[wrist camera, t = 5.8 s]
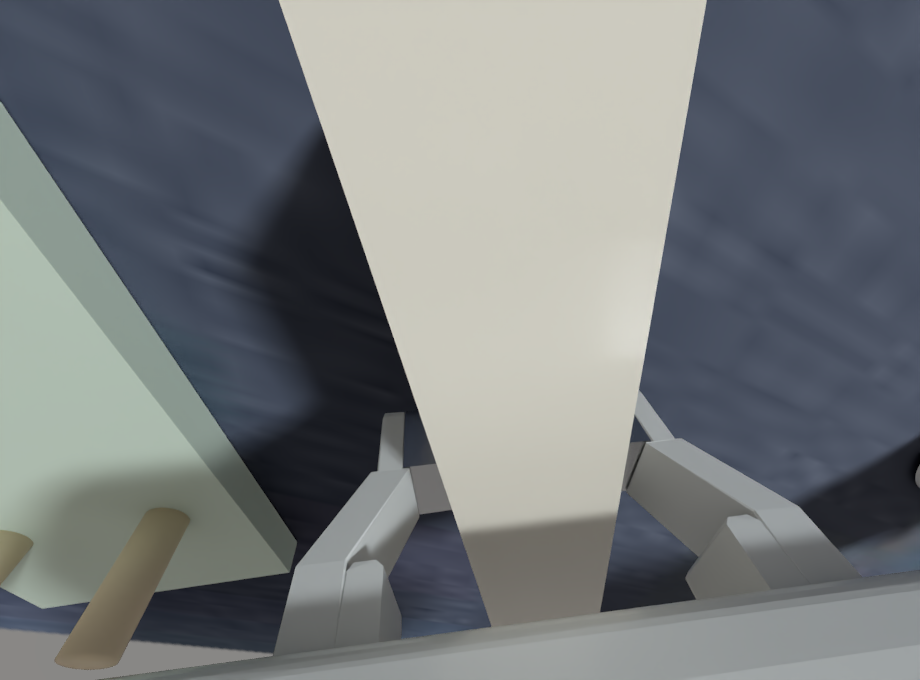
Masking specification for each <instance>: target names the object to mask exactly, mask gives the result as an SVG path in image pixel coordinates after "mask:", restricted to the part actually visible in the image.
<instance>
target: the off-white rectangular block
mask: <svg viewBox="0 0 920 680" xmlns="http://www.w3.org/2000/svg"><path fill="white" fill-rule="evenodd" d="M706 1H707V0H279V2H280V5H281V8H282V11H283V14H284V16H285V19H286V22H287V25H288V28H289V31H290V34H291V37H292V40H293V43H294V46H295V49H296V52H297V55H298V58H299V61H300V64H301V66H302V69H303V72H304V75H305V78H306V81H307V84H308V87H309V90H310V93H311V96H312V99H313V102H314V105H315V108H316V111H317V114H318V117H319V119H320V122H321V125H322V128H323V131H324V134H325V137H326V140H327V143H328V146H329V149H330V152H331V155H332V158H333V161H334V164H335V167H336V169H337V172H338V175H339V178H340V181H341V184H342V187H343V190H344V193H345V196H346V199H347V202H348V205H349V208H350V211H351V214H352V217H353V219H354V222H355V225H356V228H357V231H358V234H359V237H360V240H361V243H362V246H363V249H364V252H365V255H366V258H367V261H368V264H369V267H370V270H371V272H372V275H373V278H374V281H375V284H376V287H377V290H378V293H379V296H380V299H381V302H382V305H383V308H384V311H385V314H386V317H387V320H388V322H389V325H390V328H391V331H392V334H393V337H394V340H395V343H396V346H397V349H398V352H399V355H400V358H401V361H402V364H403V367H404V370H405V372H406V375H407V378H408V381H409V384H410V387H411V390H412V393H413V396H414V399H415V402H416V405H417V408H418V411H419V414H420V417H421V420H422V423H423V425H424V428H425V431H426V434H427V437H428V440H429V443H430V446H431V449H432V452H433V455H434V458H435V461H436V464H437V467H438V470H439V473H440V475H441V478H442V481H443V484H444V487H445V490H446V493H447V496H448V499H449V502H450V505H451V508H452V511H453V514H454V517H455V520H456V523H457V525H458V528H459V531H460V534H461V537H462V540H463V543H464V546H465V549H466V552H467V555H468V558H469V561H470V564H471V567H472V570H473V573H474V576H475V578H476V581H477V584H478V587H479V590H480V593H481V596H482V599H483V602H484V605H485V608H486V611H487V614H488V617H489V620H490V623H491V626H492V627H496V626H503V625H511V624H518V623H526V622H533V621H541V620H548V619H556V618H563V617H571V616H578V615H586V614H593V613H600V609H601V603H602V598H603V592H604V586H605V581H606V575H607V569H608V563H609V558H610V552H611V546H612V540H613V535H614V529H615V523H616V517H617V512H618V506H619V500H620V494H621V489H622V483H623V477H624V471H625V466H626V460H627V454H628V448H629V443H630V437H631V431H632V425H633V420H634V414H635V408H636V403H637V397H638V391H639V385H640V380H641V374H642V368H643V362H644V357H645V351H646V345H647V339H648V334H649V328H650V322H651V316H652V311H653V305H654V299H655V293H656V288H657V282H658V276H659V270H660V265H661V259H662V253H663V248H664V242H665V236H666V230H667V225H668V219H669V213H670V207H671V202H672V196H673V190H674V184H675V179H676V173H677V167H678V161H679V156H680V150H681V144H682V138H683V133H684V127H685V121H686V115H687V110H688V104H689V98H690V92H691V87H692V81H693V75H694V70H695V64H696V58H697V52H698V47H699V41H700V35H701V29H702V24H703V18H704V12H705V6H706Z"/></svg>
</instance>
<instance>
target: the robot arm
mask: <svg viewBox="0 0 920 680" xmlns="http://www.w3.org/2000/svg"><path fill="white" fill-rule="evenodd" d="M915 481H916V484H917V486H918V487H919V488H920V465H919V467H918V469H917V472H916V476H915ZM626 490H627V492H626V493H628V494H629V495H630V496H631V497H632V498H633V499H634V500H635V501H637V502H638V503H639V504H640V505H641V506H642V507H643V508H644V509H646V510H647V511H648V512H649V513H650V514H651V515H652V516H653V517H654V518H656V519H657V520H658V521H659V522H660V523H661V524H662V525H663V526H665V527H666V528H667V529H668V530H669V531H670V532H671V533H672V534H673V535H675V536H676V537H677V538H678V539H679V540H680V541H681V542H682V543H684V544H685V545H686V546H687V547H688V548H689V549H690V550H691V551H693V552H694V553H695V554H696V555H697V556H698V559H697V560H696V561H695V563H694V564H693V565H692V567H691V568H690V569H689V571H688V573H687V575H686V578H685V579H686V581H687V583H688V585H689V587H690V589H691V591H692V592H693V594H694V596H695V598H696V600H690V601H683V602H675V603H668V604H661V605H653V606H646V607H638V608H631V609H623V610H616V611H608V612H601V613H593V614H586V615H578V616H571V617H563V618H556V619H548V620H541V621H533V622H526V623H518V624H511V625H503V626H496V627H488V628H481V629H473V630H466V631H458V632H451V633H443V634H436V635H428V636H421V637H413V638H406V639H401V619H402V616H401V613H400V610H399V608H398V605H397V602H396V599H395V597H394V594H393V591H392V588H391V586H390V583H389V580H388V576H389V574H390V573H391V571H392V569H393V567H394V565H395V563H396V561H397V559H398V557H399V555H400V553H401V551H402V549H403V548H404V546H405V544H406V542H407V540H408V538H409V536H410V534H411V532H412V530H413V528H414V526H415V524H416V523H417V521H418V519H419V514H426V513H433V512H440V511H447V510H452V508H451V505H450V502H449V499H448V496H447V493H446V490H445V487H444V484H443V481H442V478H441V475H440V473H439V470H438V467H437V464H436V461H435V458H434V455H433V452H432V449H431V446H430V443H429V440H428V437H427V434H426V431H425V428H424V425H423V423H422V420H421V417H420V414H419V411H418V410H415V411H406V412H394V413H385V414H384V417H383V421H382V431H381V440H380V450H379V459H378V469H377V471H375V472H371V473H370V474H369V475H368V476H367V478H366V479H365V480H364V481H363V483H362V484H361V485H360V486H359V488H358V489H357V490H356V491H355V493H354V494H353V495H352V496H351V498H350V499H349V500H348V502H347V503H346V504H345V505H344V507H343V508H342V509H341V510H340V512H339V513H338V514H337V515H336V517H335V518H334V519H333V520H332V522H331V523H330V524H329V526H328V527H327V528H326V529H325V531H324V532H323V533H322V534H321V536H320V537H319V538H318V539H317V541H316V542H315V543H314V544H313V546H312V547H311V548H310V549H309V551H308V552H307V553H306V555H305V556H304V557H303V558H302V560H301V561H300V562H299V563H298V565H297V566H296V568H295V571H294V575H293V579H292V583H291V587H290V591H289V595H288V599H287V603H286V607H285V611H284V614H283V618H282V622H281V626H280V630H279V634H278V638H277V642H276V646H275V650H274V654H273V656H271V657H264V658H256V659H249V660H241V661H234V662H226V663H219V664H212V665H205V666H197V667H189V668H182V669H174V670H166V671H159V672H152V673H145V674H137V675H130V676H122V677H115V678H107V679H99V680H920V570H915V571H908V572H900V573H893V574H885V575H878V576H870V577H862V576H861V575H860V574H859V573H858V572H857V571H856V569H855V568H854V567H853V566H852V565H851V564H850V563H849V562H848V561H847V559H846V558H845V557H844V556H843V555H842V554H841V553H840V552H839V551H838V549H837V548H836V547H835V546H834V545H833V544H832V543H831V542H830V541H829V539H828V538H827V537H826V536H825V535H824V534H823V533H822V532H821V530H820V529H819V528H818V527H817V526H816V525H815V524H814V523H813V522H812V520H811V519H810V518H809V517H808V516H807V515H806V514H805V513H804V512H803V510H802V509H801V508H800V507H799V506H797V505H795V504H794V503H792V502H790V501H788V500H787V499H785V498H783V497H782V496H780V495H778V494H776V493H775V492H773V491H771V490H769V489H768V488H766V487H764V486H763V485H761V484H759V483H757V482H756V481H754V480H752V479H750V478H749V477H747V476H745V475H744V474H742V473H740V472H738V471H737V470H735V469H733V468H732V467H730V466H728V465H726V464H725V463H723V462H721V461H719V460H718V459H716V458H714V457H713V456H711V455H709V454H707V453H706V452H704V451H702V450H700V449H699V448H697V447H695V446H694V445H692V444H690V443H688V442H687V441H685V440H683V439H682V438H680V439H675V438H674V437H673V435H672V434H671V433H670V431H669V430H668V429H667V427H666V426H665V424H664V423H663V422H662V420H661V419H660V418H659V416H658V415H657V414H656V412H655V411H654V409H653V408H652V407H651V405H650V404H649V403H648V401H647V400H646V399H645V397H644V396H643V394H642V393H641V392H640V391H638V397H637V403H636V408H635V414H634V420H633V425H632V431H631V437H630V443H629V448H628V454H627V460H626V466H625V471H624V477H623V483H622V489H621V491H626Z"/></svg>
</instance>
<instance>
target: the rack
mask: <svg viewBox="0 0 920 680" xmlns="http://www.w3.org/2000/svg"><path fill="white" fill-rule="evenodd" d="M296 545H297V541H296V540H295V538H294V537H293V535H292V534H291V532H290V531H289V529H288V528H287V526H286V525H285V523H284V522H283V520H282V519H281V517H280V516H279V514H278V513H277V511H276V510H275V508H274V507H273V505H272V504H271V502H270V501H269V499H268V498H267V496H266V495H265V493H264V492H263V491H262V489H261V488H260V486H259V485H258V483H257V482H256V480H255V479H254V477H253V476H252V474H251V473H250V471H249V470H248V468H247V467H246V465H245V464H244V462H243V461H242V459H241V458H240V456H239V455H238V453H237V452H236V450H235V449H234V447H233V446H232V444H231V443H230V442H229V440H228V439H227V437H226V436H225V434H224V433H223V431H222V430H221V428H220V427H219V425H218V424H217V422H216V421H215V419H214V418H213V416H212V415H211V413H210V412H209V410H208V409H207V407H206V406H205V404H204V403H203V401H202V400H201V398H200V397H199V395H198V394H197V393H196V391H195V390H194V388H193V387H192V385H191V384H190V382H189V381H188V379H187V378H186V376H185V375H184V373H183V372H182V370H181V369H180V367H179V366H178V364H177V363H176V361H175V360H174V358H173V357H172V355H171V354H170V352H169V351H168V349H167V348H166V346H165V345H164V344H163V342H162V341H161V339H160V338H159V336H158V335H157V333H156V332H155V330H154V329H153V327H152V326H151V324H150V323H149V321H148V320H147V318H146V317H145V315H144V314H143V312H142V311H141V309H140V308H139V306H138V305H137V303H136V302H135V300H134V299H133V297H132V296H131V295H130V293H129V292H128V290H127V289H126V287H125V286H124V284H123V283H122V281H121V280H120V278H119V277H118V275H117V274H116V272H115V271H114V269H113V268H112V266H111V265H110V263H109V262H108V260H107V259H106V257H105V256H104V254H103V253H102V251H101V250H100V249H99V247H98V246H97V244H96V243H95V241H94V240H93V238H92V237H91V235H90V234H89V232H88V231H87V229H86V228H85V226H84V225H83V223H82V222H81V220H80V219H79V217H78V216H77V214H76V213H75V211H74V210H73V208H72V207H71V205H70V204H69V202H68V201H67V200H66V198H65V197H64V195H63V194H62V192H61V191H60V189H59V188H58V186H57V185H56V183H55V182H54V180H53V179H52V177H51V176H50V174H49V173H48V171H47V170H46V168H45V167H44V165H43V164H42V162H41V161H40V159H39V158H38V156H37V155H36V153H35V152H34V151H33V149H32V148H31V146H30V145H29V143H28V142H27V140H26V139H25V137H24V136H23V134H22V133H21V131H20V130H19V128H18V127H17V125H16V124H15V122H14V121H13V119H12V118H11V116H10V115H9V113H8V112H7V110H6V109H5V107H4V106H3V104H2V103H1V102H0V587H1V588H3V589H5V590H7V591H9V592H11V593H13V594H15V595H17V596H19V597H21V598H23V599H24V600H26V601H28V602H30V603H32V604H34V605H36V606H38V607H40V608H42V609H43V608H50V607H57V606H63V605H70V604H77V603H84V602H90V603H89V605H88V606H87V608H86V610H85V611H84V613H83V614H82V616H81V618H80V619H79V621H78V622H77V624H76V626H75V627H74V629H73V630H72V632H71V634H70V635H69V637H68V639H67V640H66V642H65V643H64V645H63V647H62V648H61V650H60V652H59V653H58V655H57V656H56V658H55V662H56V663H57V664H58V665H61V666H64V667H68V668H73V669H84V670H89V669H90V670H92V669H93V670H94V669H104V668H109V667H113V666H115V665H117V664H118V663H119V661H120V659H121V657H122V655H123V653H124V651H125V649H126V647H127V645H128V643H129V641H130V639H131V637H132V635H133V633H134V631H135V629H136V627H137V625H138V623H139V621H140V619H141V617H142V615H143V614H144V612H145V610H146V608H147V606H148V604H149V602H150V600H151V598H152V596H153V594H154V592H159V591H166V590H173V589H180V588H187V587H194V586H200V585H207V584H214V583H221V582H228V581H235V580H241V579H248V578H255V577H262V576H269V575H276V574H283V573H289V572H290V569H291V565H292V561H293V557H294V553H295V549H296Z"/></svg>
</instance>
